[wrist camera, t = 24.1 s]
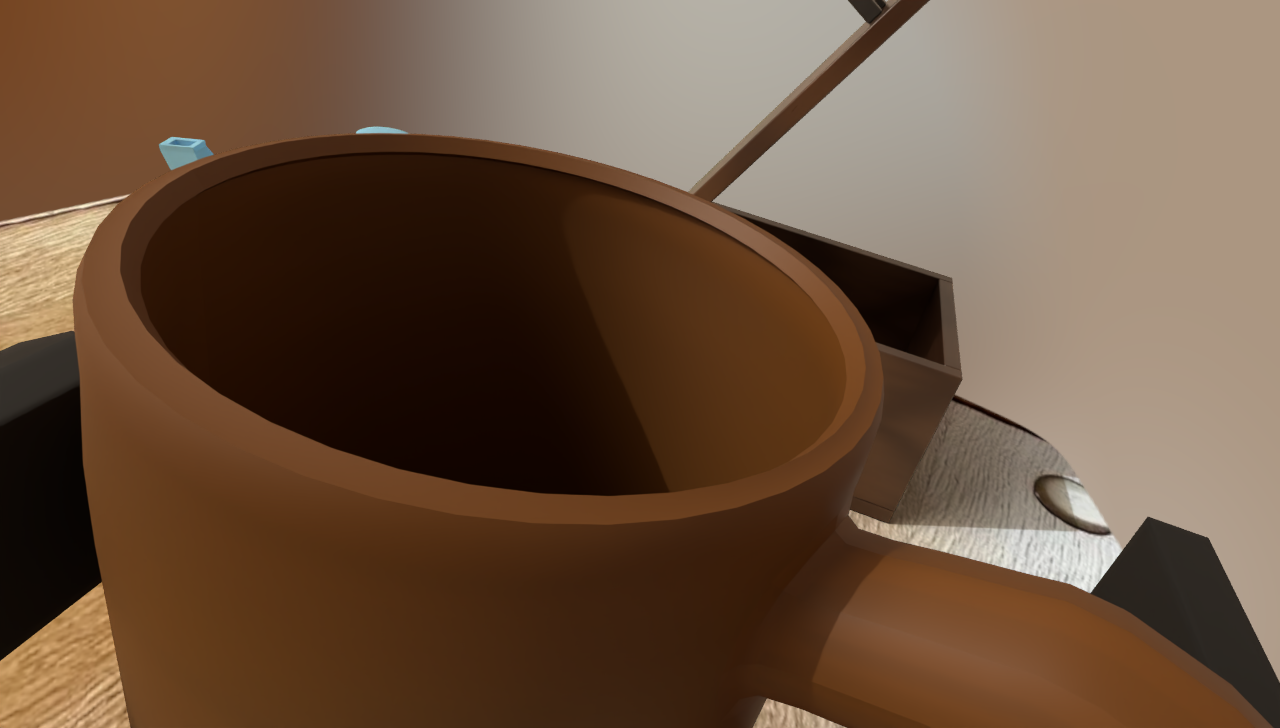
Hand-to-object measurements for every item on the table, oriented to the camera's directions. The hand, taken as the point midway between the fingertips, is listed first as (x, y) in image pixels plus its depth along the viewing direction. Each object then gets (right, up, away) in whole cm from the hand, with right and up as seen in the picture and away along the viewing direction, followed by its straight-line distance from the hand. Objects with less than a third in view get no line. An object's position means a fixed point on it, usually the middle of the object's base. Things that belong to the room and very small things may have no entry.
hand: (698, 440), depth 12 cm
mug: (-2, -7, 0) cm, 7 cm away
